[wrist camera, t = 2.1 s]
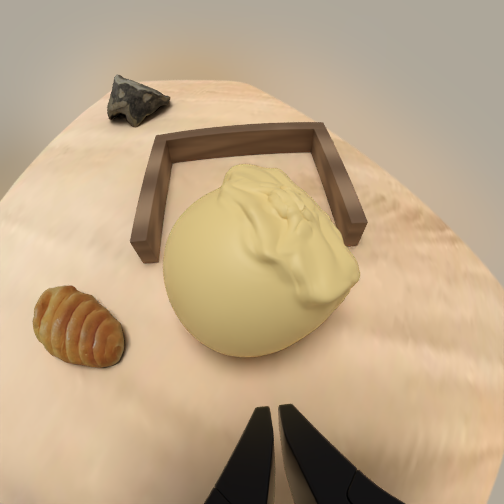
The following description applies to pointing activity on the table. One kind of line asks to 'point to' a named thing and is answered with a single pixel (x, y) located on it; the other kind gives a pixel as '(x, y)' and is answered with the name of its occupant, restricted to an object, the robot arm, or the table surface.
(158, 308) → the table surface
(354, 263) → the sculpture
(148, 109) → the fossil
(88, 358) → the pastry
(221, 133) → the frame
